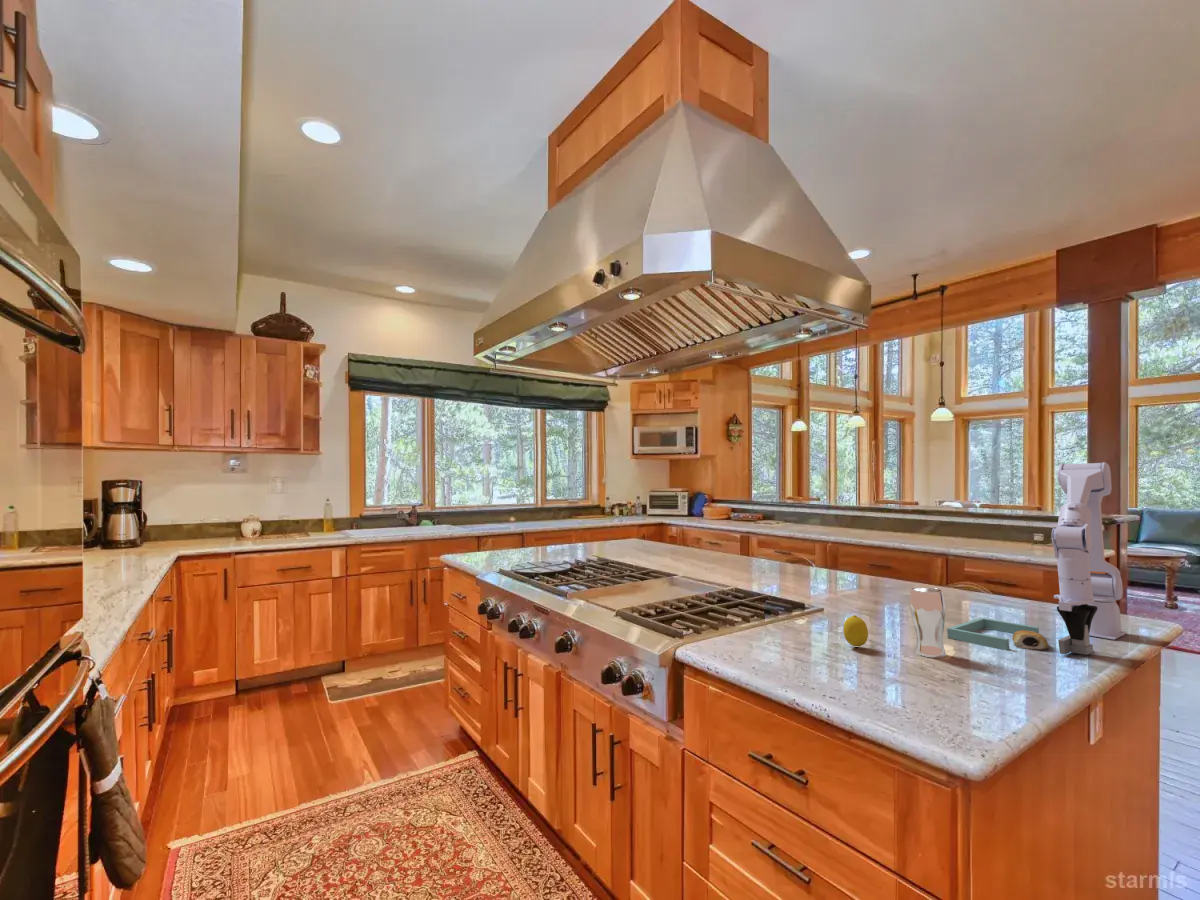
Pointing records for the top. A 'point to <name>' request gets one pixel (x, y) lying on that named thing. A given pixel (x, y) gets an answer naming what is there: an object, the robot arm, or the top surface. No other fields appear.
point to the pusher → (1076, 644)
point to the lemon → (855, 631)
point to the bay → (968, 635)
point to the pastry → (1029, 640)
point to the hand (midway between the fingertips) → (1079, 638)
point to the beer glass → (928, 620)
